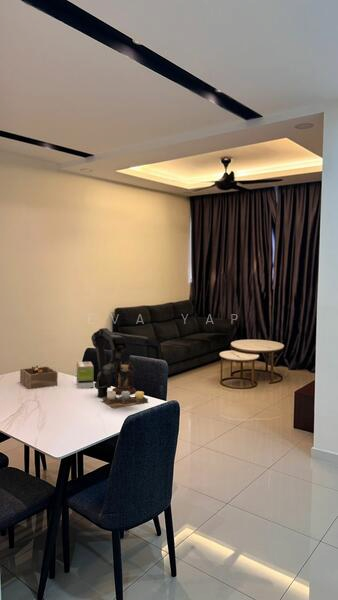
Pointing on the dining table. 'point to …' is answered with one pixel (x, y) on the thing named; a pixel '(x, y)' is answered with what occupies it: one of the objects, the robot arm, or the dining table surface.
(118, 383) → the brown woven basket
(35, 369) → the bear figurine
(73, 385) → the dining table surface
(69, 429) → the dining table surface
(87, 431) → the dining table surface
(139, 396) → the mustard button
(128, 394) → the slate button
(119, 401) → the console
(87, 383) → the tea box
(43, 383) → the box
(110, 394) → the cream button
